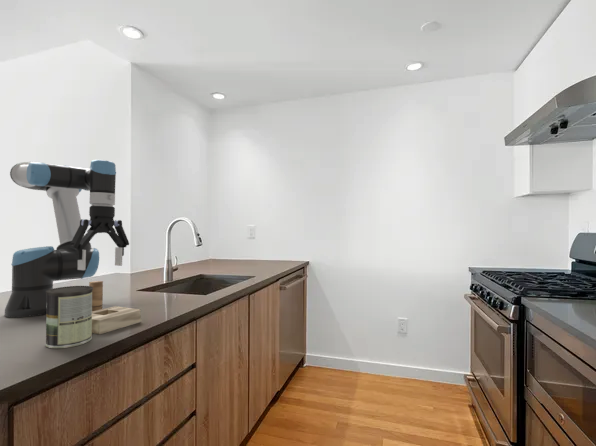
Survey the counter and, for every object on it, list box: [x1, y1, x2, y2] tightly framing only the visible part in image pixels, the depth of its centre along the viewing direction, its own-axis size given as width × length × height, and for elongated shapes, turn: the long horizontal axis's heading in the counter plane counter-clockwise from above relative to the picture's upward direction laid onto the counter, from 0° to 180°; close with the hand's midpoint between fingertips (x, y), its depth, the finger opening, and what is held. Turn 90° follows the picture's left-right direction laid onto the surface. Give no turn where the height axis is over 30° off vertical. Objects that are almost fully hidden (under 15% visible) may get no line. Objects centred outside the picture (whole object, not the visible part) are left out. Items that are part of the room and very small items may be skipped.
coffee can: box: [45, 285, 93, 350], centre depth 89 cm, size 10×10×14 cm
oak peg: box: [88, 280, 104, 311], centre depth 113 cm, size 4×4×12 cm
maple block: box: [92, 305, 142, 335], centre depth 103 cm, size 12×14×4 cm
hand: (101, 267), depth 114 cm, fingers open, 13 cm apart
